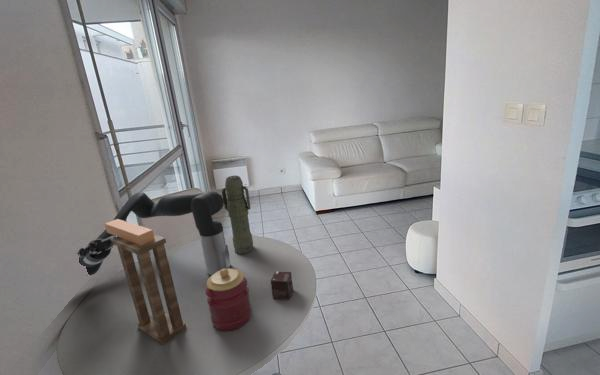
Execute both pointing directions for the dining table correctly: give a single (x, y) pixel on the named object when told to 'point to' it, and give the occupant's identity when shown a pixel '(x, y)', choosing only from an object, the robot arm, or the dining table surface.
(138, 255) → the walnut shelf stand
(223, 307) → the canister
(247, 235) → the thermos
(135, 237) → the terracotta bar
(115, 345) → the dining table surface
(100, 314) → the dining table surface
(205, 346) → the dining table surface
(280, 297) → the box
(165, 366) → the dining table surface
